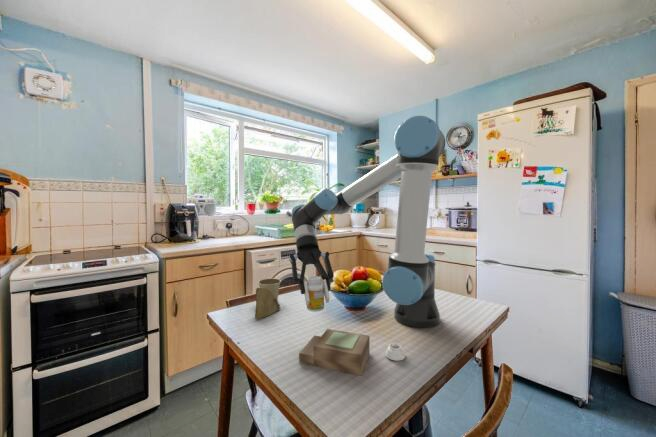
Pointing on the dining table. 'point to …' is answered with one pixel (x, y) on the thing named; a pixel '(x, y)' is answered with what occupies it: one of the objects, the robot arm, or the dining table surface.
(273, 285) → the flower pot
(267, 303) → the rock
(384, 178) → the robot arm
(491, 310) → the dining table surface
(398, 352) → the lidless jar
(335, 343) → the step stand
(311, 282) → the supplement bottle
